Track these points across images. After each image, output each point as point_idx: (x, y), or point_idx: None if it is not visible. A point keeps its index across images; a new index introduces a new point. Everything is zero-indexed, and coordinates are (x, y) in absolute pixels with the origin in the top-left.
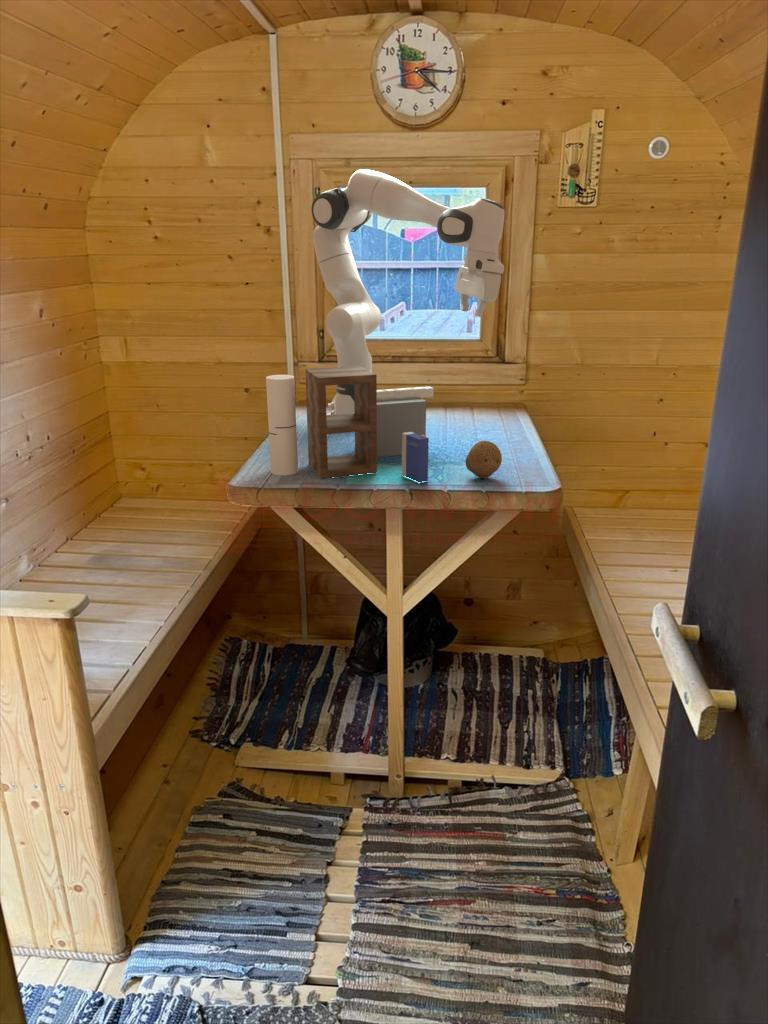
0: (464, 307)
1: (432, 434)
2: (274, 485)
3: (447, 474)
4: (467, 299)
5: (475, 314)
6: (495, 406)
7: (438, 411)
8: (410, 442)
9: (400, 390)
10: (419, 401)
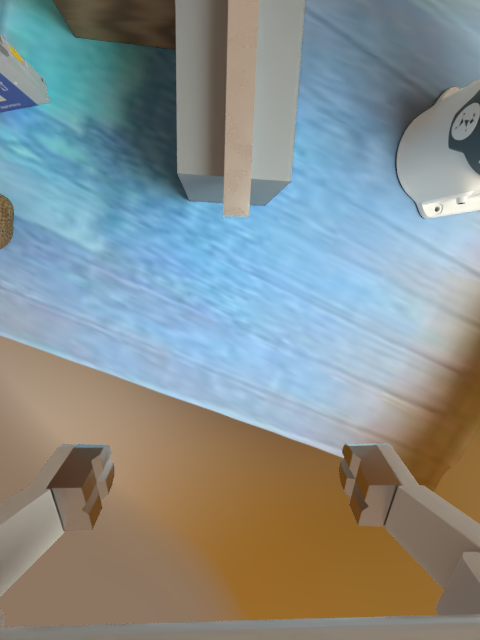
0: (356, 476)
1: (302, 270)
2: None
3: (41, 175)
4: (443, 586)
5: (87, 447)
6: (424, 450)
7: (443, 350)
8: None
9: (226, 96)
10: (178, 151)
